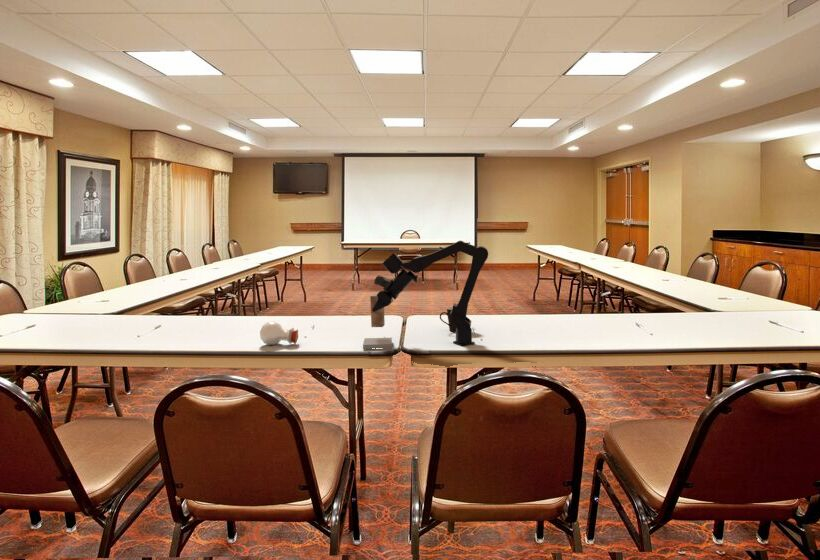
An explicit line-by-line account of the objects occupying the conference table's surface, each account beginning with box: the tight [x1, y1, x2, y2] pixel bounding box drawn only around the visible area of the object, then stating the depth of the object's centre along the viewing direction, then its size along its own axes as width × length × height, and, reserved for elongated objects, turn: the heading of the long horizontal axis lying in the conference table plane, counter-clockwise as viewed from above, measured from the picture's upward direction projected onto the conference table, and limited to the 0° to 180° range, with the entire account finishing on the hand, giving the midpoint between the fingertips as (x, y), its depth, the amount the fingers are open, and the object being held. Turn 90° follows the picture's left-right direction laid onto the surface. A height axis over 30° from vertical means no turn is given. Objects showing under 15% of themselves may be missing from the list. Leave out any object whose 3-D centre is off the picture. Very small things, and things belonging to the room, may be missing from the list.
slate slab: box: [362, 337, 393, 350], centre depth 208 cm, size 11×11×2 cm
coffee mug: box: [439, 306, 456, 333], centre depth 232 cm, size 12×9×10 cm
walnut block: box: [369, 294, 385, 328], centre depth 213 cm, size 4×4×12 cm
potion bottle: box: [259, 321, 299, 346], centre depth 214 cm, size 9×10×15 cm
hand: (374, 309), depth 213 cm, fingers closed on walnut block, 4 cm apart
